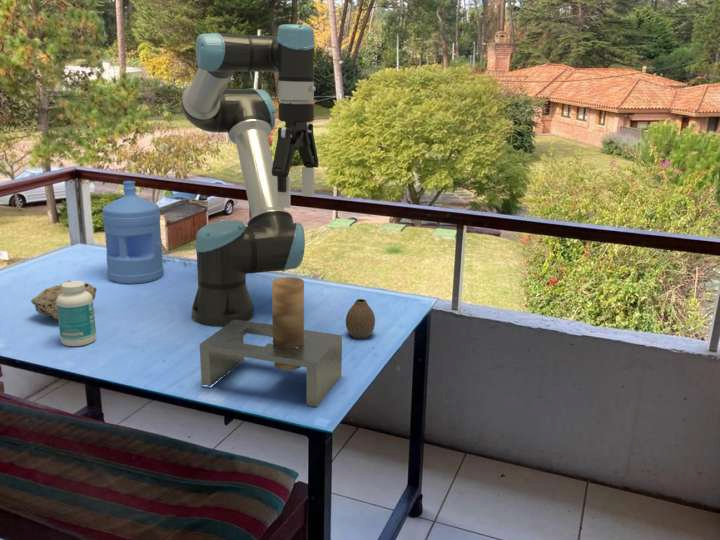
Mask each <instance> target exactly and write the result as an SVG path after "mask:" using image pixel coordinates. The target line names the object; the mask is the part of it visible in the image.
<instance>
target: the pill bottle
mask: <svg viewBox="0 0 720 540" xmlns="http://www.w3.org/2000/svg"><path fill="white" fill-rule="evenodd" d="M70 281H71V282H68V281H66V283H65V282H64V283H61V284H62V285H61V284H60V285H61V286H62V291H63V293H62V294H60V295H59V296H58V297H57V299H56V304H57V312H58V319H57V321H58V329H59V337H60V342H61V343H62V344H63V345H64V346H67V347H80V346H86V345H89V344H91V343H93V342H94V341H95V340H96V338H97V328H96V320H95V319H96V318H95V311H94V310H95V309H94V308H95V307H94V300H93V297H92V295H91V294H90V293H89V292H87V291H84V290H85V284H84V281H81V280H73V281H72V280H70Z"/></svg>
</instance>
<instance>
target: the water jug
mask: <svg viewBox="0 0 720 540" xmlns="http://www.w3.org/2000/svg"><path fill="white" fill-rule="evenodd" d="M122 184H123V192H124V193H123V196H122V197H119V198H117V199H116V200H114V201H112V202H110V203H107V204H106V205H104V206H103V207H102V209H101V210H102V223H103V231H104V234H105V249H106V265H107V269H106V270H107V271H106V273H107V278H108V280H110V281H112V282H114V283H118V284H125V285H126V284H127V285H135V284H137V285H138V284H144V283H149V282H153V281H156V280H157V279H160V278H161V277H162V276H163V275H164V273H165V271H164V270H165V269H164V261H163V241H162V233H161V212H160V206H159V205H158V204H157V203H155V202H153V201H151V200H148V199H145V198H143V197H141V196H138V195H137V194H136V186H135V185H136V181H135V180H124V181H123V182H122Z"/></svg>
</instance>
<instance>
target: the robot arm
mask: <svg viewBox="0 0 720 540" xmlns="http://www.w3.org/2000/svg"><path fill="white" fill-rule="evenodd" d="M315 47H316V42H315V30H314V28H313V27H312V26H310V25H308V24H295V23H294V24H293V23H292V24H290V23H289V24H286V23H285V24H284V23H283V24H280V25H279V26H278V29H277V36H276V35H275V36H273V35H253V34H250V35H249V34H233V33H231V34H230V33H218V32H211V33H201V34H198V35H197V37H196V41H195V59H196V65H197V71H196V73H195V76H194V78H193V80H192V83H191V84H189V85H188V86H187V87H186V88H185V89H184V91H183V93H182V96H181V99H180V107H181V110H182V113H183V115H184V117H185V118H186V119H187V120H188V121H189V123H191V124H192V126H195V128H197V129H199V130H202V131H206V132H208V133H209V132H210V133H218V134H220V133H226V134H228V135H227V136H228V138H229V140H230V142H231V143H232V144H234V145H235V146H236V149H237V154H238V159H239V163H240V167H241V173H242V177H243V182H244V187H245V192H246V197H247V202H248V205H249V210H250V216H251V218H249V220H248V221H247V224H246V225H247V226H246V225H245V223H244V222H243V221H241V220H238V219H237V220H236V219H235V220H228V219H227V220H221V221H215V222H211V223H208V224H205V225H204V226H202V227H201V228H199V229H198V231H197V232H196V239H195V252H196V264H197V265H196V268H197V269H196V270H197V271H196V272H197V290H196V293H195V297H194V299H193V304H192V306H191V307H192V308H191V313H192V315H191V316H192V317H191V318H192V319H193V321H195V322H197V323H199V324H201V325H205V326H213V327H215V326H216V327H224V326H226V325H227V324H229V323H230V322H231V321H233V320H234V319H235V320H242V321H249V320H251V319H253V317H254V315H255V312H254V311H255V309H254V308H255V307H254V304H253V300H252V297H251V295H250V291H249V289H248V286H247V281H246V280H247V275H248V274H259V273H269V272H279V271H282V272H284V271H288V270H294V269H297V268H298V267H300V266H301V264H302V262H303V258H304V255H305V247H306V234H305V228H304V226H303V225H302V223H299V222H294V219H293V216H292V214H291V213H290V212H289V211H287V210H285V208H286V209H287V208H289V209H290V208H291V175H290V176H289V174H290V171H291V167H292V163H293V161H294V158H295V153H296V151H298V154H299V156H300V159H301V161H302V165H303V167H301V196H302V197H312V198H314V197H315V168H317V169H318V168H319V158H318V152H317V146H316V141H315V135H314V124H313V123H311V122H314V121H315V105H314V104H313V103H312V102H313V101H314V99H315V97H314V96H315V92H316V89H317V88H316V86H315ZM236 72H246V73H247V72H249V73H250V72H253V73H254V72H255V73H257V72H258V73H277V74H278V76H277V79H278V81H277V99H278V100H279V101H280V102H279V103H278V106H277V107H278V120H279V121H280V122H284V123H285V125H284V127H282V126H281V127H278V128H277V140H276V145H275V150H274V157H273V155H272V150H271V147H270V142H269V137H271V134H272V132H273V130H274V129H275V126H276V114H275V111H276V110H275V106H274V102H273V101H272V100H273V99H272V98H271V95H269V93H268V92H267V91H266V90H263V89H257V88H252V87H249V88H245V89H244V88H227V87H228V86H229V83H230V81H231V79H232V78H233V76H234V74H235V73H236Z"/></svg>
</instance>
